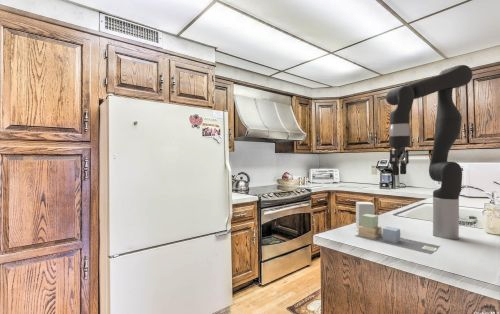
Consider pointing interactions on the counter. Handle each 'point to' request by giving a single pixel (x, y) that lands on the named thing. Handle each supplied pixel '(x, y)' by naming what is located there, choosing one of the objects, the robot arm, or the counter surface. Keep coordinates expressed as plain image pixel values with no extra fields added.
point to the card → (429, 248)
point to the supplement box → (363, 211)
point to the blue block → (391, 234)
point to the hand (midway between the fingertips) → (399, 174)
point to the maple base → (370, 232)
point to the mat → (405, 244)
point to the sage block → (370, 221)
